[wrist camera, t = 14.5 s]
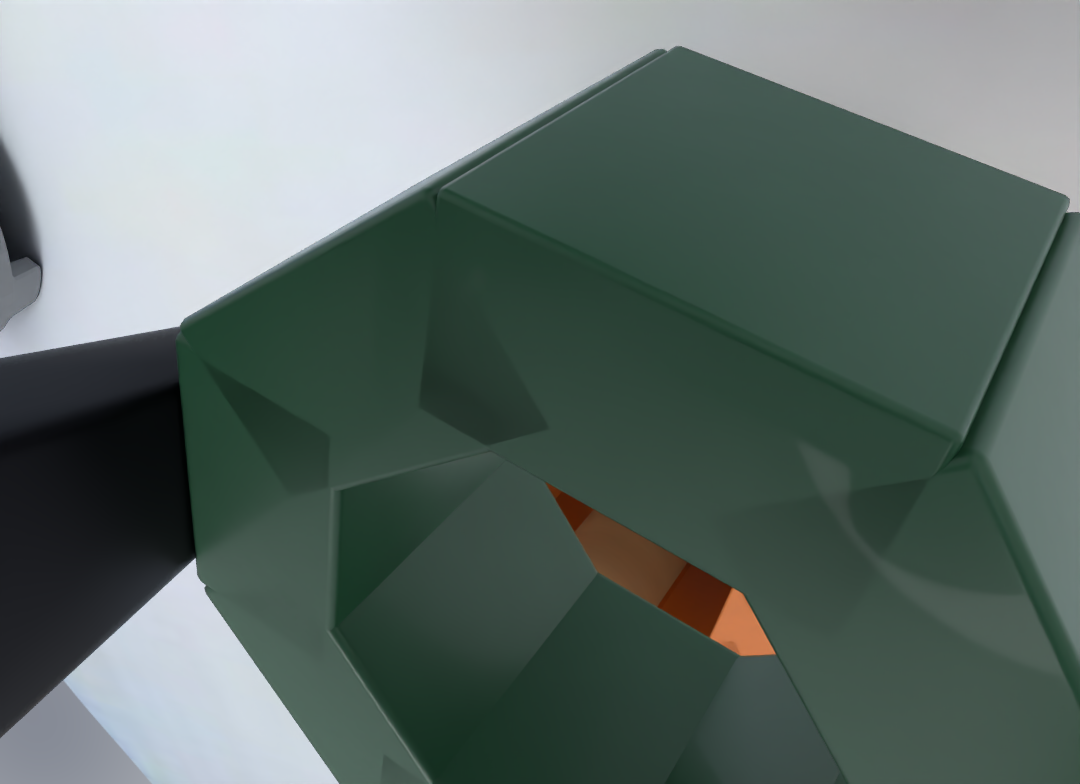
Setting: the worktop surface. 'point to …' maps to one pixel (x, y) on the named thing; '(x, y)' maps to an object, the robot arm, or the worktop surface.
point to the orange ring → (697, 598)
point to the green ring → (661, 453)
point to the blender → (16, 283)
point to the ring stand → (629, 557)
